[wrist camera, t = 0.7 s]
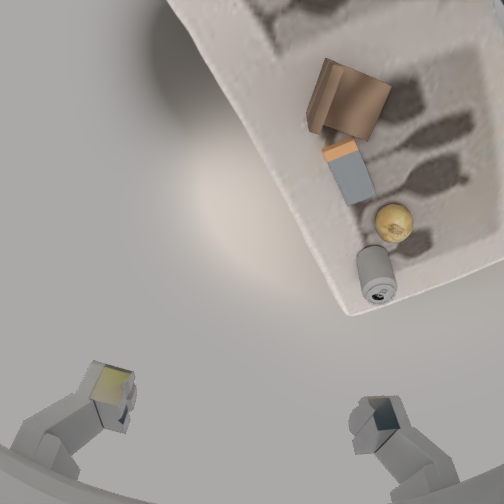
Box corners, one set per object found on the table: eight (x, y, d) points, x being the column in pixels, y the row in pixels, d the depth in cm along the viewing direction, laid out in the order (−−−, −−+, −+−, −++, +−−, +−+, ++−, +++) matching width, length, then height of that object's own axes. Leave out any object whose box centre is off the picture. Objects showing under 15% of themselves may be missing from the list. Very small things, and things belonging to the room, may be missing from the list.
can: (350, 262, 68) (356, 303, 59) (366, 238, 63) (376, 279, 54) (376, 271, 69) (385, 311, 60) (393, 249, 64) (406, 289, 55)
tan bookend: (384, 81, 41) (404, 94, 34) (362, 133, 48) (376, 156, 41) (325, 57, 41) (333, 64, 33) (306, 113, 47) (309, 131, 40)
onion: (414, 205, 56) (425, 225, 51) (398, 234, 61) (406, 256, 56) (381, 193, 56) (390, 214, 50) (366, 225, 61) (372, 247, 56)
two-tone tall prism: (374, 189, 55) (376, 195, 54) (346, 200, 58) (347, 206, 56) (352, 136, 49) (354, 139, 48) (321, 148, 52) (322, 152, 50)
